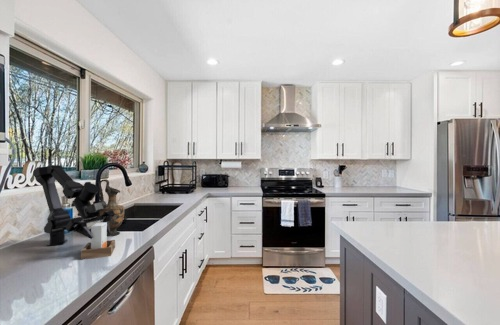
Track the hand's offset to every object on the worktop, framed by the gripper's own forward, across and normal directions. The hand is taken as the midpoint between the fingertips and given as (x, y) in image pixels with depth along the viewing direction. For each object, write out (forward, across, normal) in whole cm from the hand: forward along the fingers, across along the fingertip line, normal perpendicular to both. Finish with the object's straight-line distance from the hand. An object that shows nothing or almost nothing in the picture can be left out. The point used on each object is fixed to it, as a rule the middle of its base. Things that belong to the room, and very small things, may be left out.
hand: (101, 235), depth 104 cm
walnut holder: (+5, 0, +6) cm, 8 cm away
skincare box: (+4, 0, +6) cm, 8 cm away
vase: (-9, +20, +21) cm, 30 cm away
